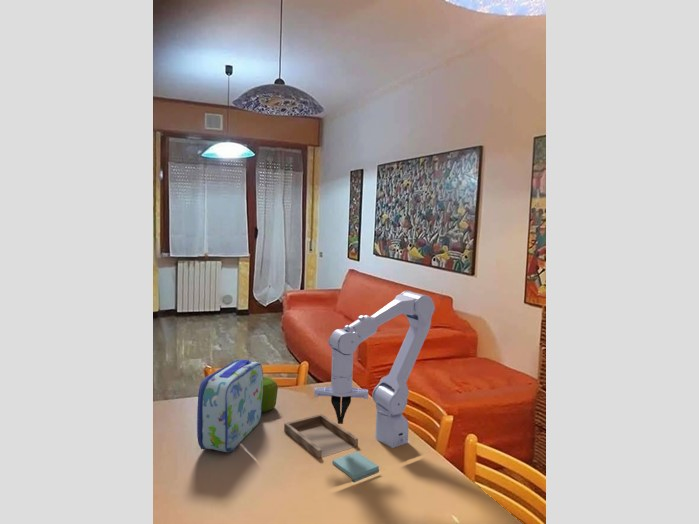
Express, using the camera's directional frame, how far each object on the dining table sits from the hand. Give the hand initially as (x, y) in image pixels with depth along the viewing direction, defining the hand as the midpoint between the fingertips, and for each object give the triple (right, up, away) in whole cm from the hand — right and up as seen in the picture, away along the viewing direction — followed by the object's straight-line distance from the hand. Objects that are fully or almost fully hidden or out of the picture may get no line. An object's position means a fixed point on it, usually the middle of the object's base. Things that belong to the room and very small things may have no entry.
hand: (340, 422), depth 128 cm
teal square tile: (+4, -10, -8) cm, 13 cm away
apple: (-27, -5, +27) cm, 39 cm away
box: (-6, -8, +6) cm, 12 cm away
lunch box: (-32, -7, +8) cm, 33 cm away
